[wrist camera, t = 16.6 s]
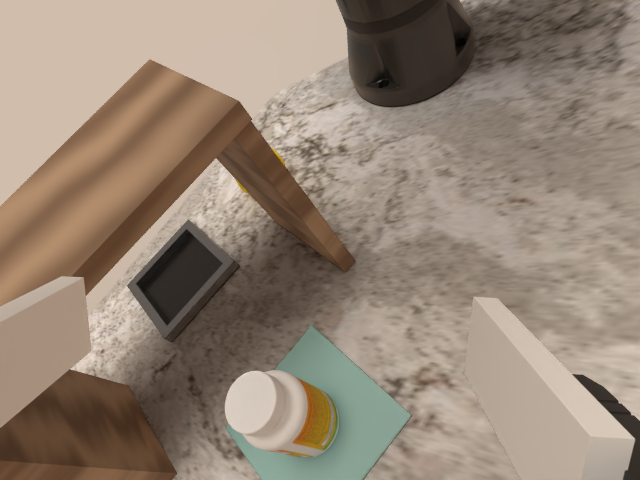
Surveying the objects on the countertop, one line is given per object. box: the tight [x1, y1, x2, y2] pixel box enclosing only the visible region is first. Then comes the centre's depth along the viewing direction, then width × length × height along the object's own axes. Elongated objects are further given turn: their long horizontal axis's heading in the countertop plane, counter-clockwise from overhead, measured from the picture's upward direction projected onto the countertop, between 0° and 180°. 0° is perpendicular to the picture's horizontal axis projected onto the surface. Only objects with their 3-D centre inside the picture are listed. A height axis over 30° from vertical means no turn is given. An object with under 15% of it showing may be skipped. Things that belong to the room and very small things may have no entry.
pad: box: [226, 325, 412, 480], centre depth 35 cm, size 12×12×1 cm
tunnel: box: [0, 60, 355, 480], centre depth 35 cm, size 13×27×22 cm, turn 135°
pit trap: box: [127, 220, 239, 342], centre depth 50 cm, size 11×11×1 cm
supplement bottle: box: [225, 370, 339, 458], centre depth 31 cm, size 5×5×10 cm
